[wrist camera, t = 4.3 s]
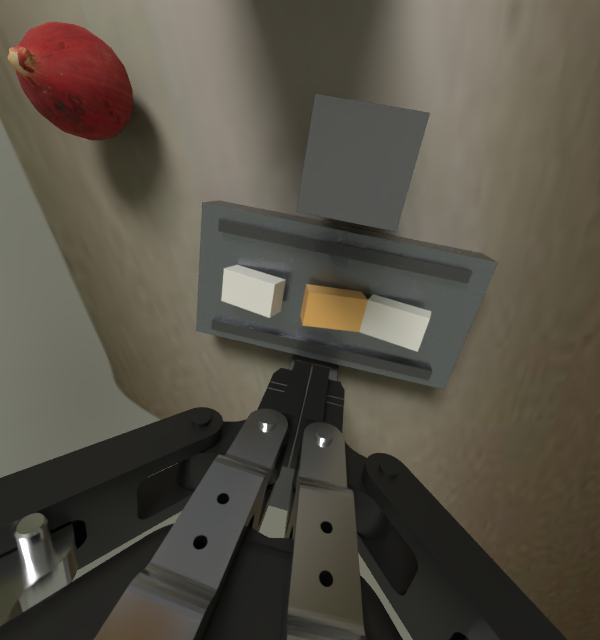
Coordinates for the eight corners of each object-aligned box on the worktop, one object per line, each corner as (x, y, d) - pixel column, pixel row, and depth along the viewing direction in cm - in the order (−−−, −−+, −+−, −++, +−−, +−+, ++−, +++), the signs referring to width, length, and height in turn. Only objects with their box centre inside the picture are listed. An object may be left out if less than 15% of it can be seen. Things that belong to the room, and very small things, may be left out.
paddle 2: (431, 311, 22) (430, 318, 20) (419, 342, 23) (417, 351, 21) (373, 294, 23) (368, 299, 21) (364, 324, 24) (359, 332, 22)
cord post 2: (393, 149, 22) (429, 113, 11) (377, 210, 24) (396, 231, 13) (335, 139, 22) (315, 93, 11) (324, 200, 24) (295, 211, 13)
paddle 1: (285, 279, 22) (274, 284, 21) (280, 311, 23) (269, 318, 22) (237, 264, 24) (223, 268, 22) (234, 295, 25) (221, 300, 23)
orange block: (361, 291, 23) (368, 300, 21) (353, 322, 24) (359, 332, 22) (306, 284, 22) (309, 292, 21) (300, 315, 23) (302, 325, 22)
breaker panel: (481, 253, 24) (501, 264, 20) (435, 369, 28) (445, 394, 24) (219, 200, 25) (198, 202, 22) (211, 317, 29) (192, 333, 26)
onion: (168, 135, 24) (85, 112, 17) (103, 153, 25) (0, 140, 18) (139, 39, 22) (31, -35, 15) (70, 65, 23) (-61, 9, 16)
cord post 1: (338, 362, 29) (327, 470, 18) (329, 398, 30) (313, 517, 19) (294, 351, 29) (257, 451, 18) (288, 388, 31) (249, 500, 20)
